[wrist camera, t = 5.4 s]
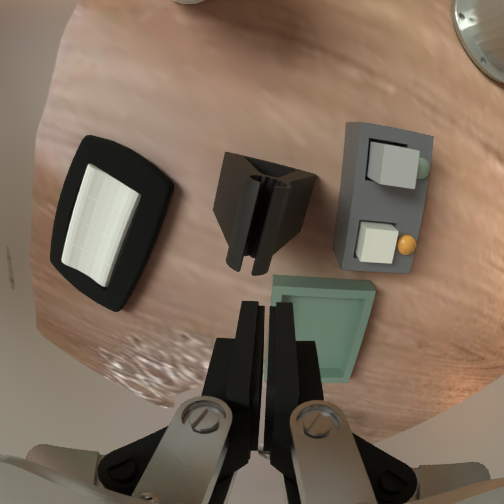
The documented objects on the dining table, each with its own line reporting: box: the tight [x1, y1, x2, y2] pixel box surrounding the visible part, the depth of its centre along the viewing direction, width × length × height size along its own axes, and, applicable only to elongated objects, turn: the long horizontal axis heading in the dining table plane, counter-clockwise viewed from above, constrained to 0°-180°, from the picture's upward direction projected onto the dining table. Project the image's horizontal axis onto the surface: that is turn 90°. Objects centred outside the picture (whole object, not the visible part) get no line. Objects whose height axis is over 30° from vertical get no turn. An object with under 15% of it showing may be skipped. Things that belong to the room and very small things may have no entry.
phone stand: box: [213, 152, 316, 276], centre depth 24 cm, size 9×6×12 cm, turn 76°
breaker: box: [367, 142, 420, 189], centre depth 22 cm, size 3×3×4 cm
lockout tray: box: [264, 275, 376, 383], centre depth 34 cm, size 11×14×2 cm
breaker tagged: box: [354, 220, 399, 264], centre depth 26 cm, size 3×3×4 cm
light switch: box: [50, 135, 174, 312], centre depth 32 cm, size 20×3×14 cm
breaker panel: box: [333, 122, 434, 274], centre depth 26 cm, size 7×13×6 cm, turn 178°
